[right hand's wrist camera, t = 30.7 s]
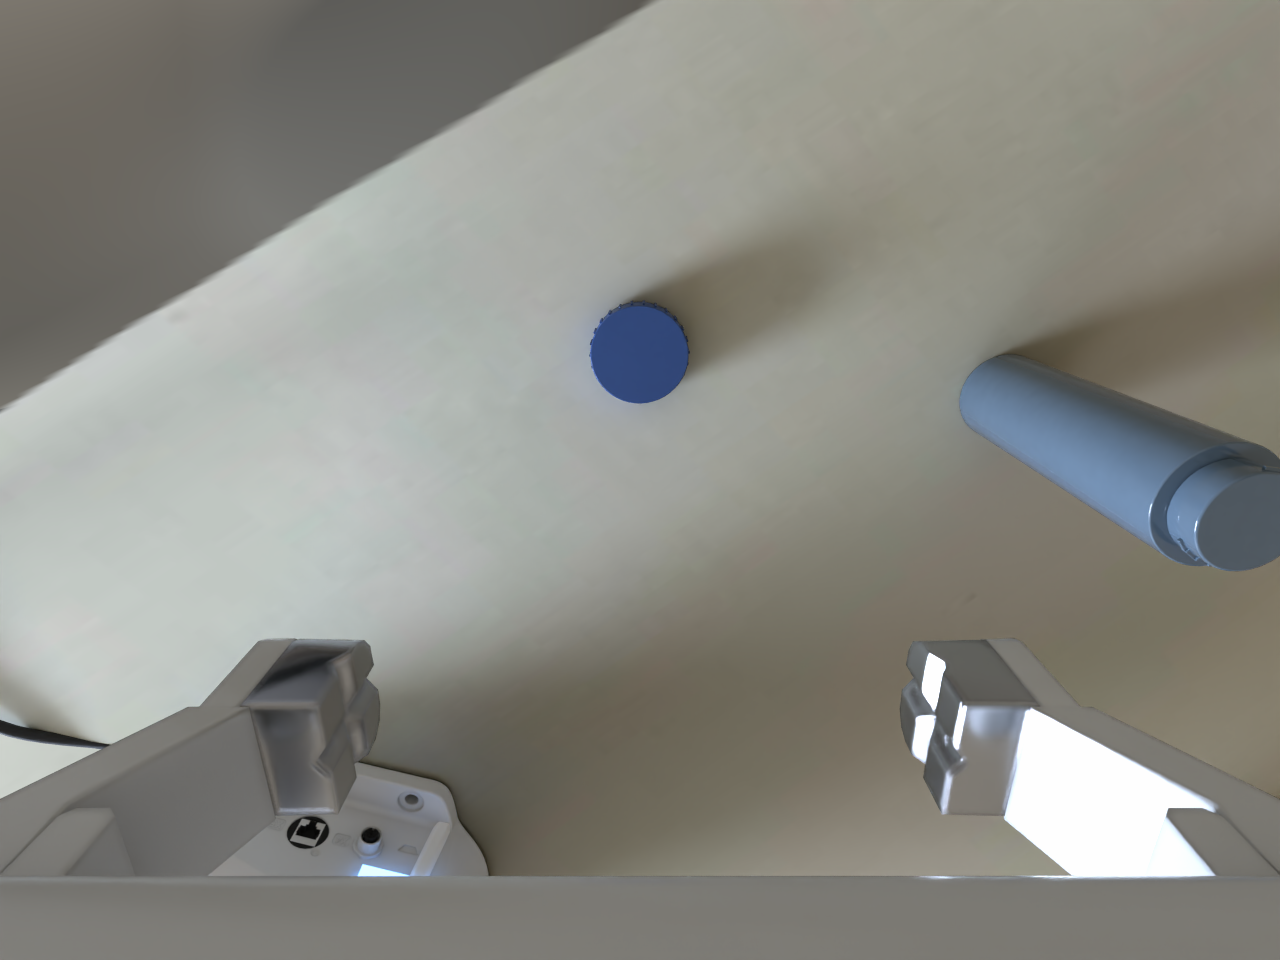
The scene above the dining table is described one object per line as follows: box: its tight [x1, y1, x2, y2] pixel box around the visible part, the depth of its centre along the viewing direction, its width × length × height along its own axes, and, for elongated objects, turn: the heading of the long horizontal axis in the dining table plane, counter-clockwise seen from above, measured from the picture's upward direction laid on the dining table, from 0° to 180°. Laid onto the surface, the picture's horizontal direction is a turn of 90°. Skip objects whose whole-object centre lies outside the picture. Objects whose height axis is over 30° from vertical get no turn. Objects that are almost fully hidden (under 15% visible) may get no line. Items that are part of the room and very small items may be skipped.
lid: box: [589, 300, 690, 403], centre depth 36 cm, size 5×5×2 cm
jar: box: [960, 354, 1280, 571], centre depth 30 cm, size 4×4×16 cm
